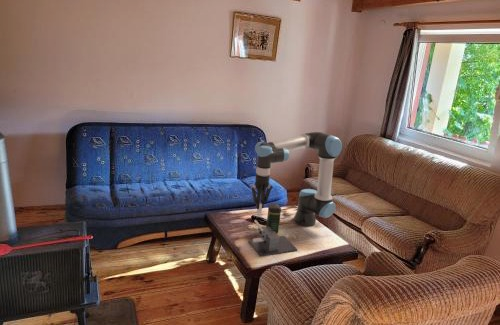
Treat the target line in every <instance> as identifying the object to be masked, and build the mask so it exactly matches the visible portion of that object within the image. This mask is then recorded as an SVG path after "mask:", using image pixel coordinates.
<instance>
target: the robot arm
mask: <svg viewBox="0 0 500 325" xmlns="http://www.w3.org/2000/svg"><path fill="white" fill-rule="evenodd" d="M300 149H303V150H307V149H308V150H309V149H310V150H314V151H316V152H317V157H318V159H319V165H318V175H317V187H316V188H317V190H316V189H311V188H304V189H301V190H300V192H299V195H298V201H297V202H298V203H297V210H296V212H295V215H294V216H293V222H294V223H295V224H297V225H299V226H302V227H303V226H304V227H313V226H315V225H316V222H317V219H316V215H317V216H319V217H321V218H324V219H327V218H329V217H331V216H332V215H333V214H334V213H335V210H336V208H337V207H336V204H335V202H333V196H332V195H331V193H332V192H331V191H332V181H333V172H334V164H335V163H334V162H335V160H336V159H337V157H339V155H340V153H341V152H342V149H343V144H342V141H341V140H340V138H339V137H337V136H334V135H331V134H329V133H328V134H327V133H323V132H321V131H311V132H306V133H301V134H300V135H299V136H295V137H290V138H289V137H288V138H285V139H280V140H278V139H277V140H275V141H274V140H273V141H270V142H269V141H267V142H265V141H258V142H257V143H256V144H255V146H254V151H255V153H256V154H257V156H256V157H257V158H256V159H257V160H256V167H255V168H256V169H255V173H256V174H255V182H254V183H253V185H251V186H250V187H249V188H250V190H251V194H252V200H253V202H254V204H255V209H256V213H257V215H259V216H261V215H262V210H263V209H264V204H265V203H267V202H268V199H269V198H270V194H271V191H272V189H273V186H272V185H271V184H270V173H271V165H272V164H274V163H283V162H287V161H289V159H290V151H291V152H292V151H295V150H300Z"/></svg>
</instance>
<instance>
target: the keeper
mask: <svg viewBox="0 0 500 325" xmlns="http://www.w3.org/2000/svg"><path fill="white" fill-rule="evenodd" d="M254 223H255V224H256V226H257V227H258V230H259V229H260V231H261V232H262V233H263V234H264V233H265V232H264V230H263V229H262V227H263V226H262V225H261V224H260V223H259V222H258V220H257V219H254Z"/></svg>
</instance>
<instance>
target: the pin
mask: <svg viewBox="0 0 500 325" xmlns="http://www.w3.org/2000/svg"><path fill="white" fill-rule="evenodd" d="M274 232H275V231H274ZM275 233H276V232H275ZM276 234H277V233H276ZM277 235H278V236H280V235H279V233H278V234H277ZM251 240H252V242H253V244H254V243H262V242H266V240H264V237H262V238H259V237H257V238H256V237H255V238H252V239H251Z"/></svg>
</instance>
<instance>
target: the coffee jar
mask: <svg viewBox="0 0 500 325" xmlns="http://www.w3.org/2000/svg"><path fill="white" fill-rule="evenodd" d="M267 208H268V209H267V215H266V216H267V218H266V226H265V227H270V228H271V229H272V230H273V231H275V232H276V233H277V234H278V235H279V231H280V230H279V229H280V222H281V214H282V207H281V206H280V205H279V203H277V202H271V203H269V204H268V207H267Z"/></svg>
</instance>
